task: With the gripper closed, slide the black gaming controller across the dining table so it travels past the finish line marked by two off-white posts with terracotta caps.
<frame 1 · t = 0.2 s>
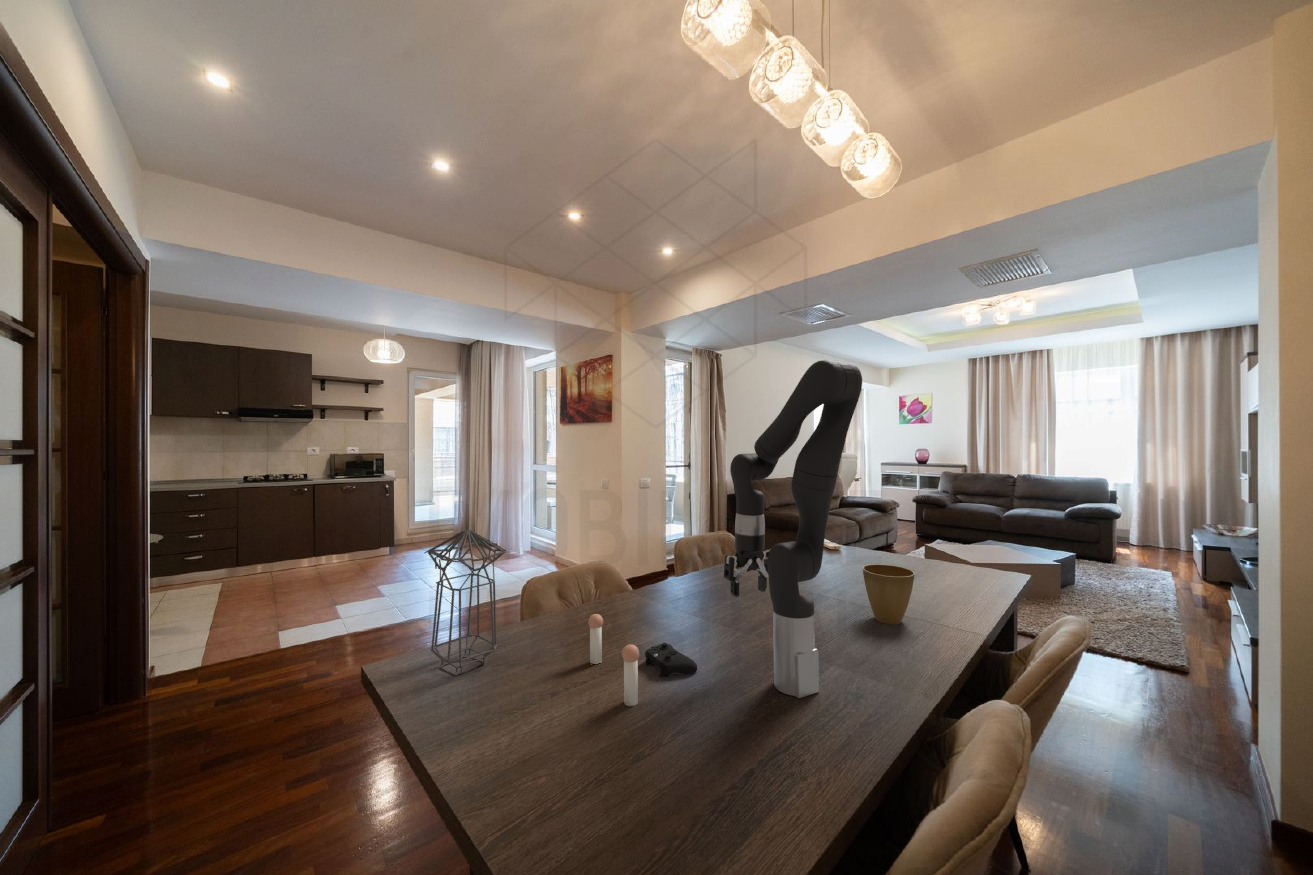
hand: (748, 593, 123), 18 cm above the table, tool pointing down, fingers open, 8 cm apart
plant pot: (889, 621, 151), on the table
finish posts: (612, 680, 114), on the table
geometric lantern: (466, 667, 122), on the table
gaming controller: (668, 668, 121), on the table
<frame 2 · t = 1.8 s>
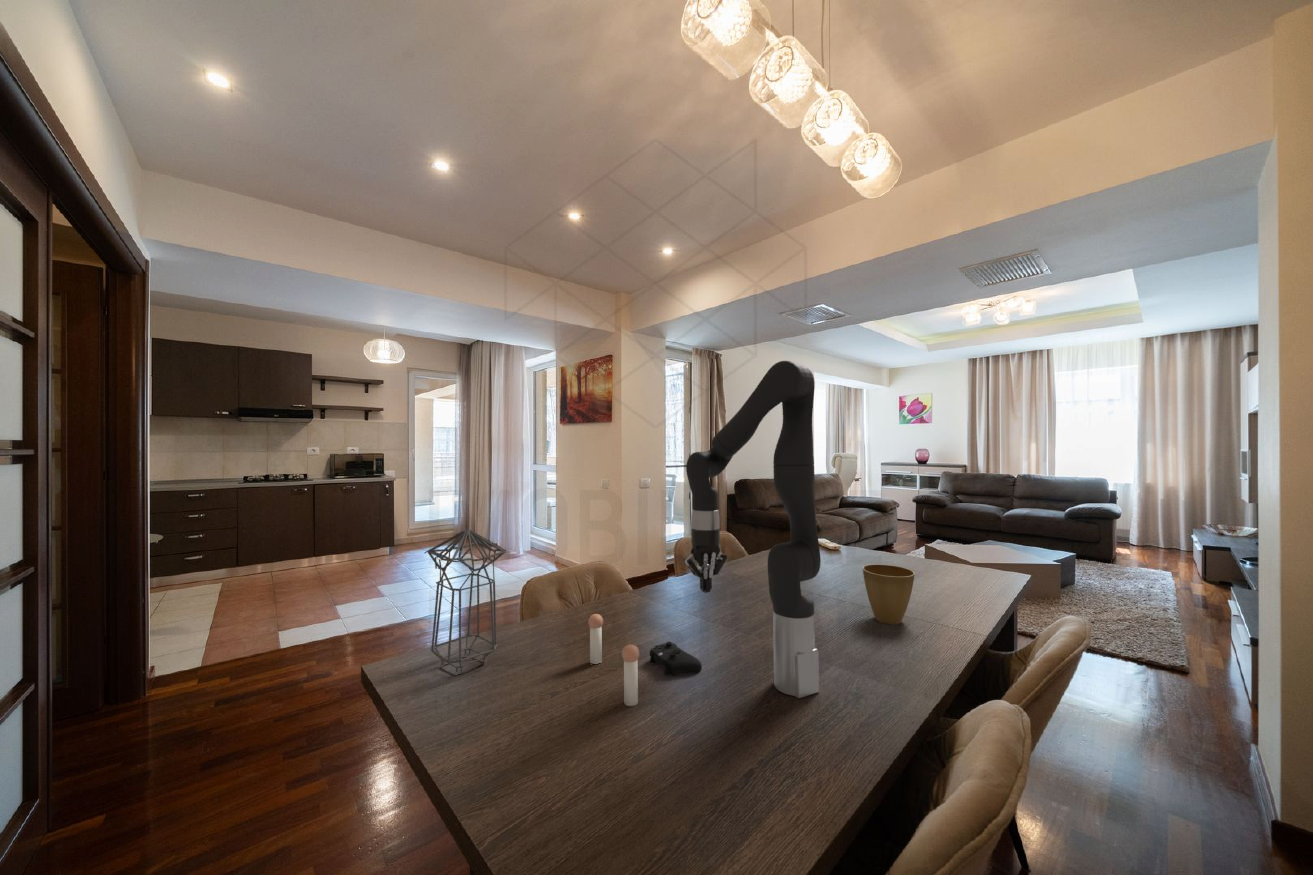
hand: (705, 591, 127), 17 cm above the table, tool pointing down, fingers closed
gaming controller: (672, 667, 121), on the table
everything else where it was.
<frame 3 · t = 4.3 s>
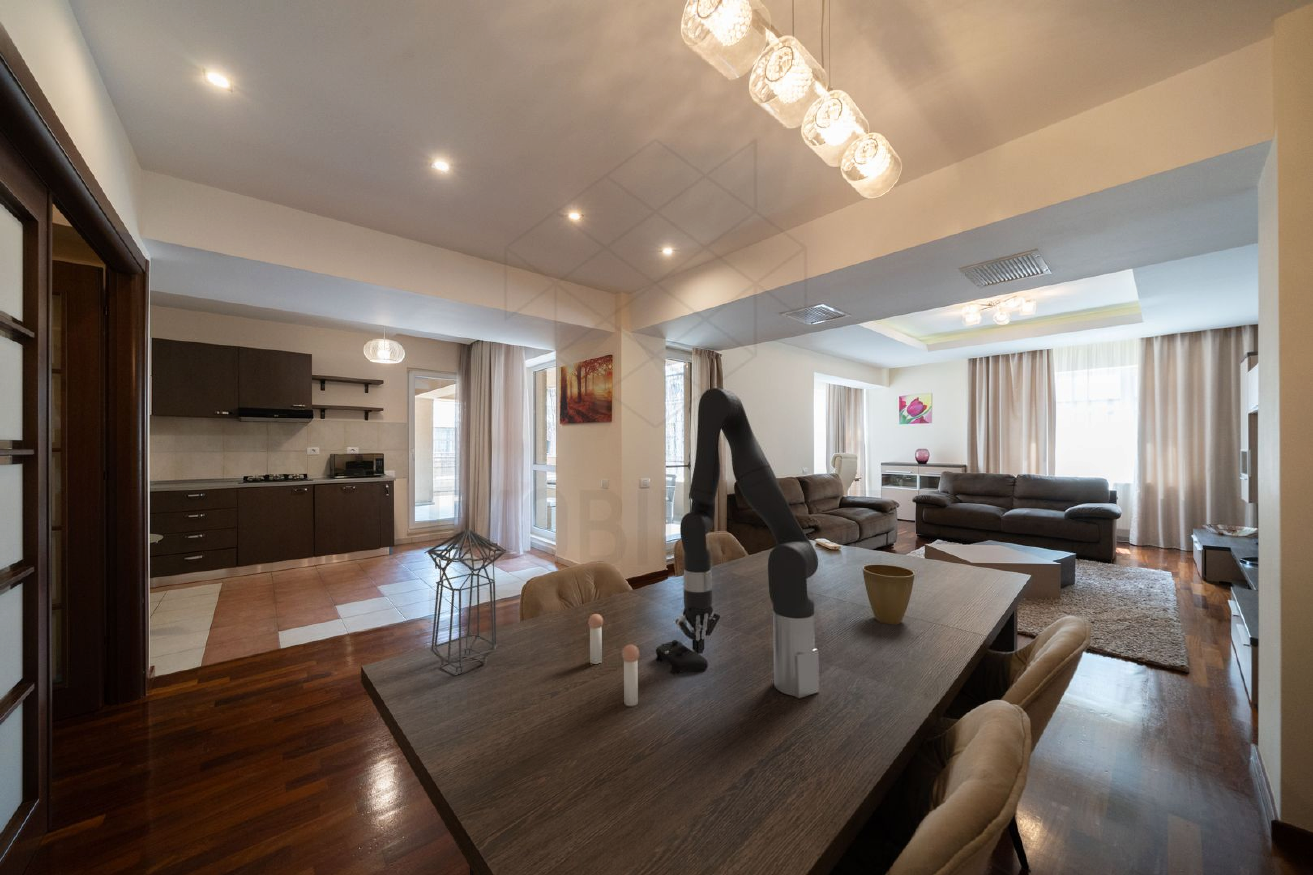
hand: (698, 652, 125), 2 cm above the table, tool pointing down, fingers closed
gaming controller: (679, 665, 122), on the table, touching gripper
everything else where it was.
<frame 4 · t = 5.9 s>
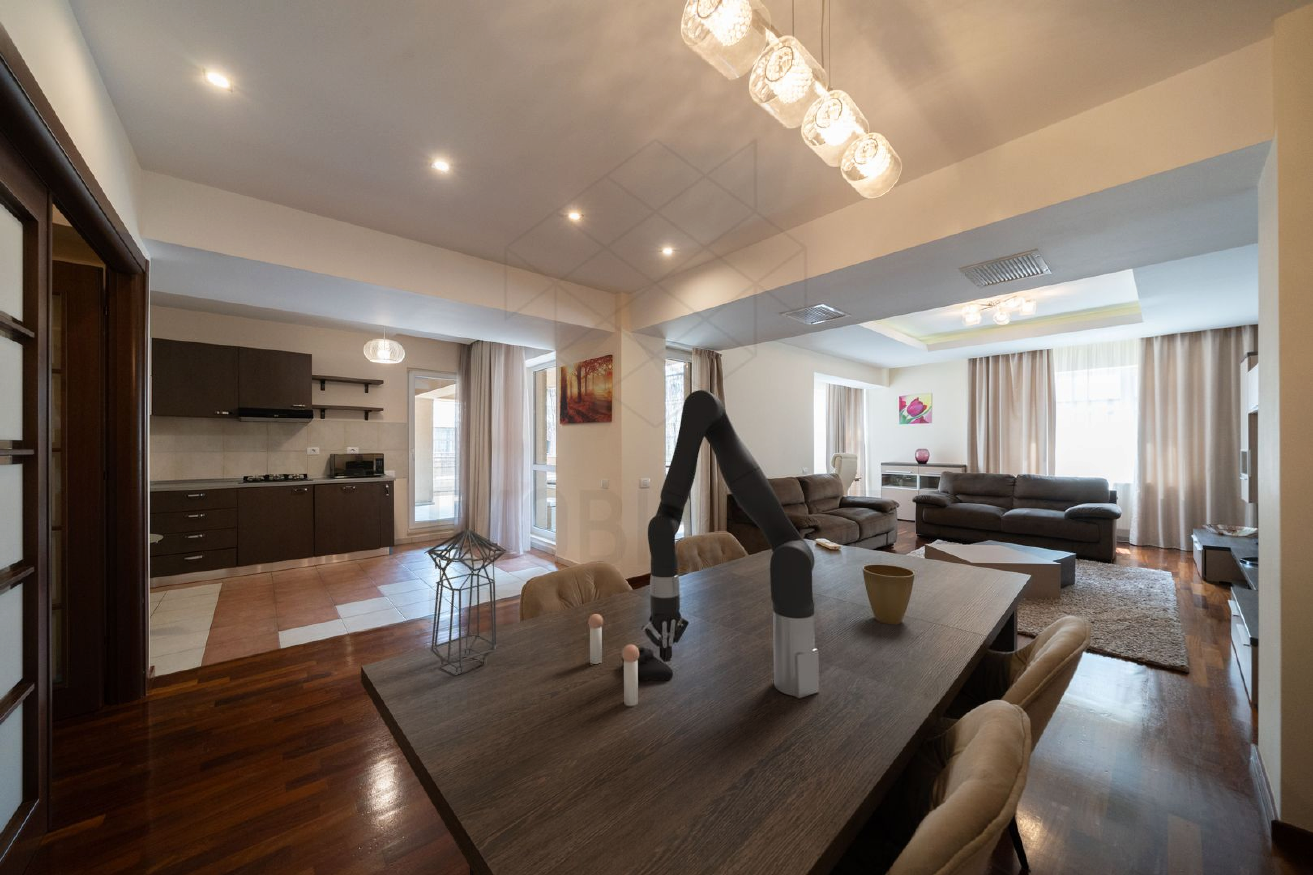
hand: (665, 660, 121), 2 cm above the table, tool pointing down, fingers closed
gaming controller: (645, 673, 118), on the table
everything else where it was.
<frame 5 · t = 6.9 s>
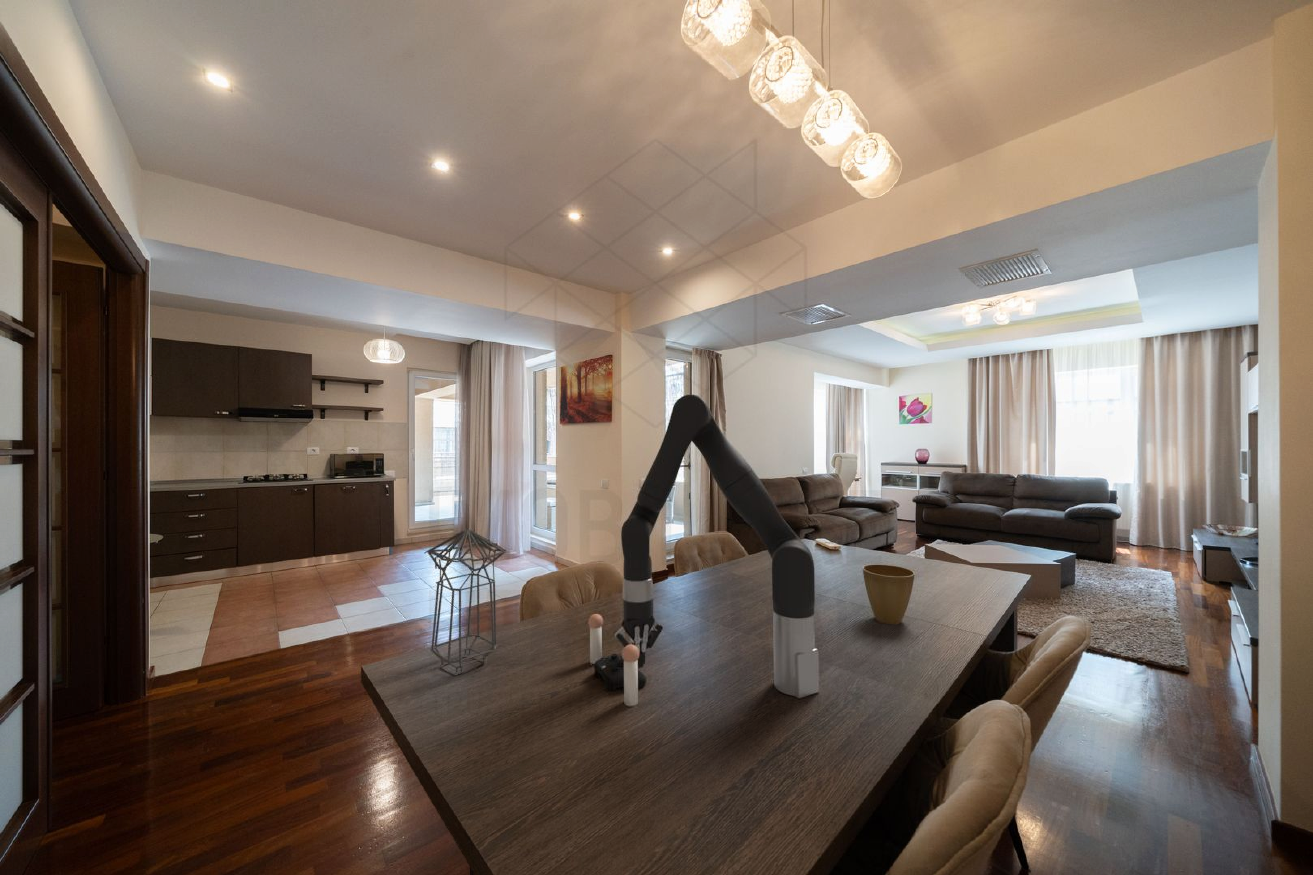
hand: (638, 666, 117), 2 cm above the table, tool pointing down, fingers closed
gaming controller: (617, 680, 114), on the table
everything else where it was.
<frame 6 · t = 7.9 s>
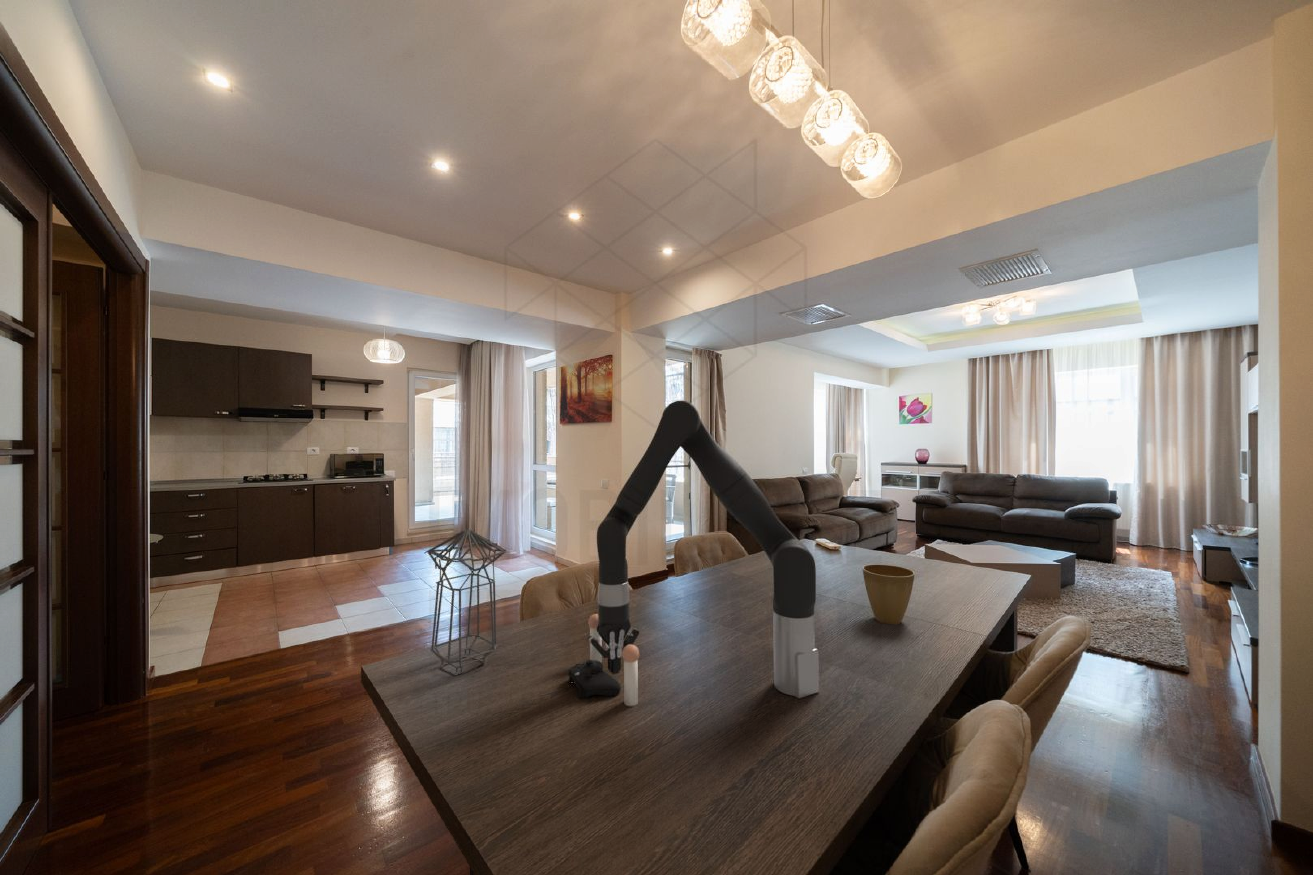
hand: (614, 672, 114), 2 cm above the table, tool pointing down, fingers closed
gaming controller: (592, 688, 111), on the table, touching gripper
everything else where it was.
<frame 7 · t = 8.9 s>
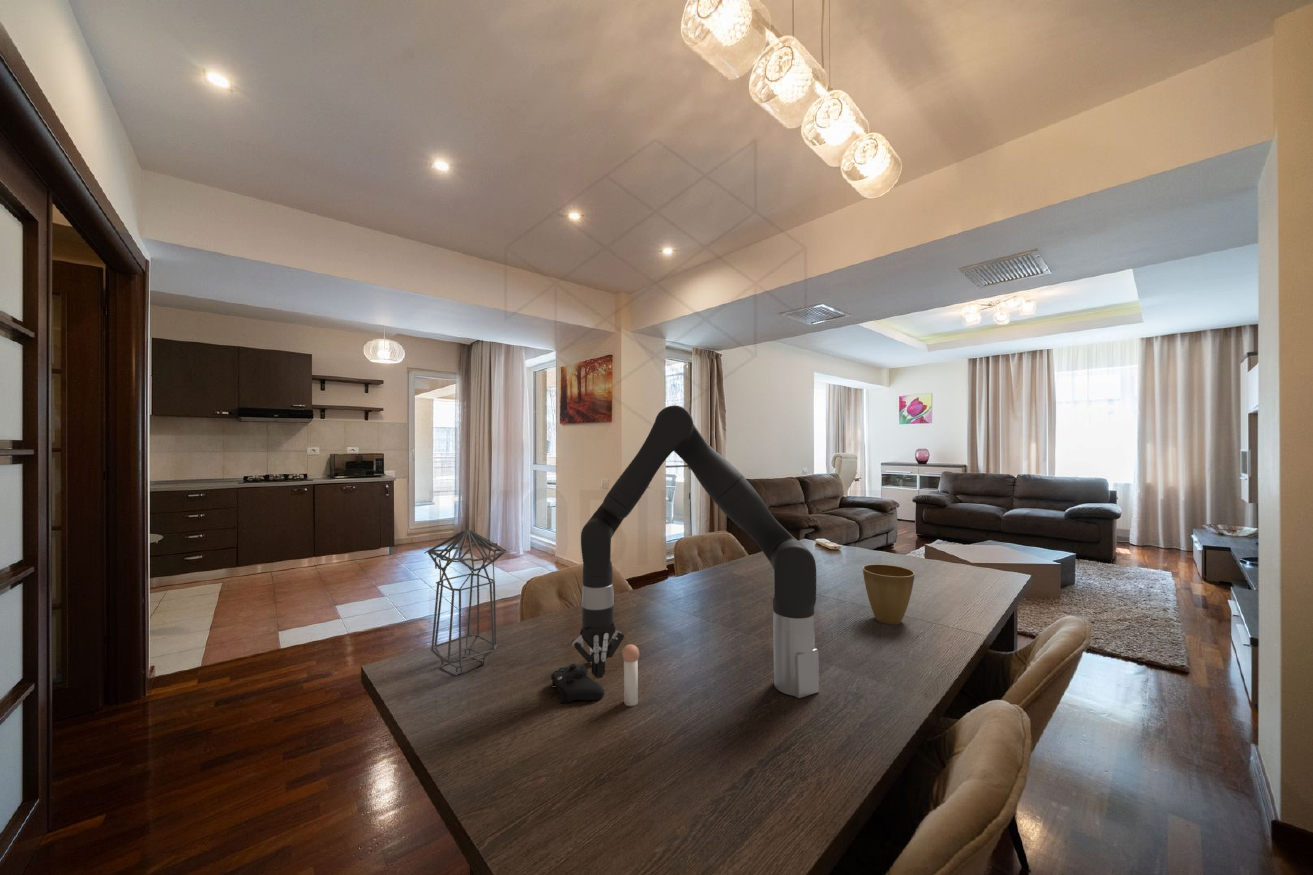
hand: (598, 676, 112), 2 cm above the table, tool pointing down, fingers closed
gaming controller: (575, 692, 110), on the table, touching gripper
everything else where it was.
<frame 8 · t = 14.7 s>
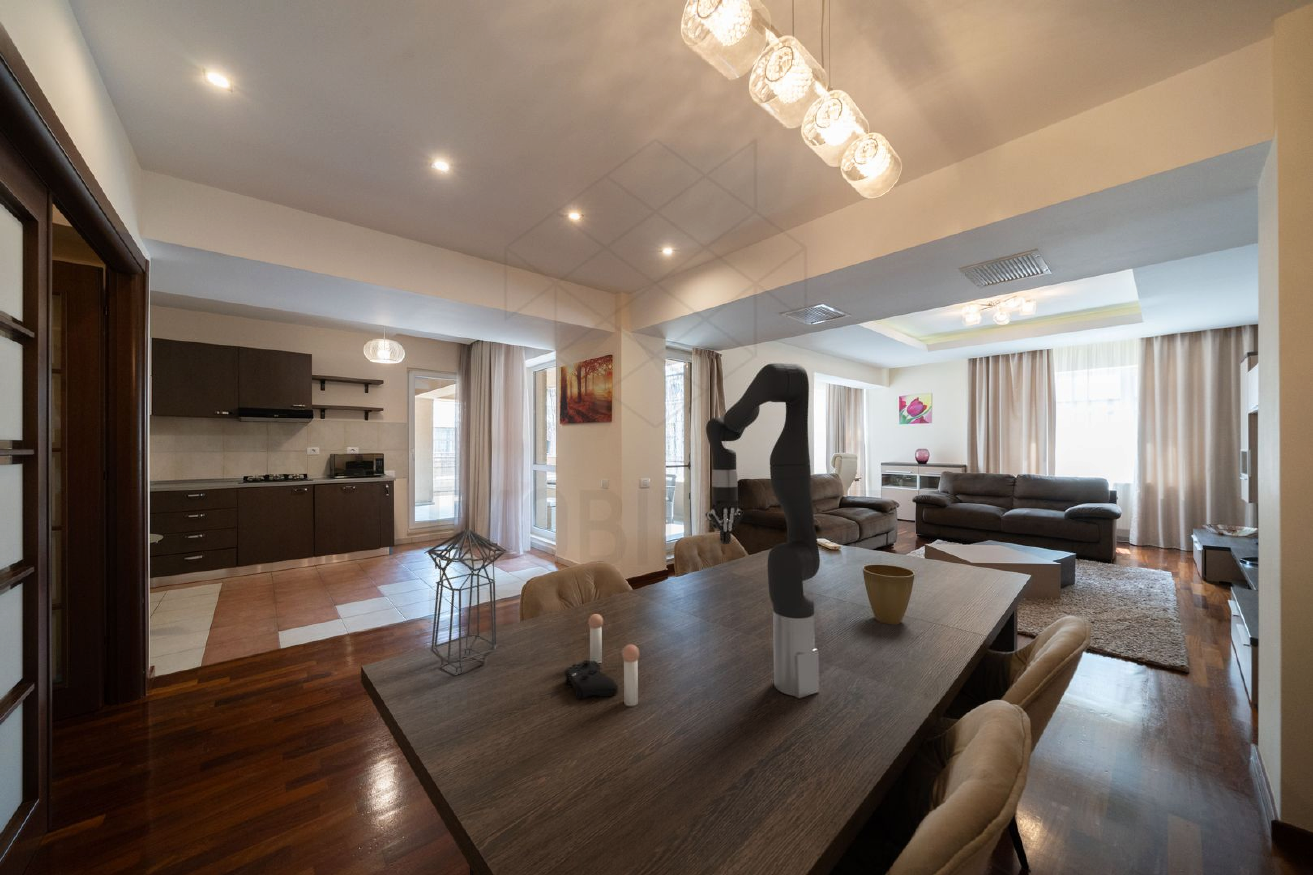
hand: (725, 543, 141), 27 cm above the table, tool pointing down, fingers closed
gaming controller: (589, 688, 111), on the table
everything else where it was.
at the end: gaming controller inside the target area (5.9 cm from its centre), on the table; gaming controller tilted 1° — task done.
